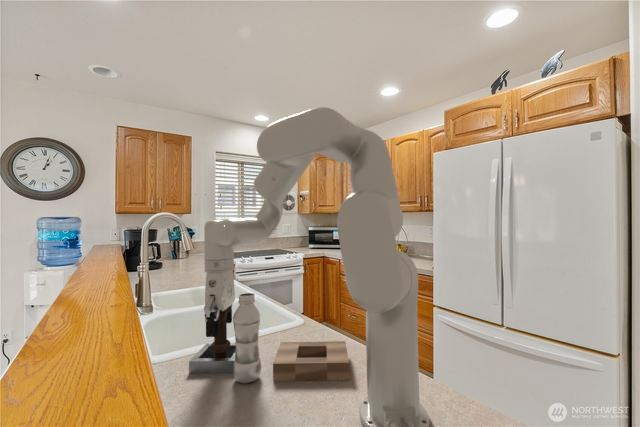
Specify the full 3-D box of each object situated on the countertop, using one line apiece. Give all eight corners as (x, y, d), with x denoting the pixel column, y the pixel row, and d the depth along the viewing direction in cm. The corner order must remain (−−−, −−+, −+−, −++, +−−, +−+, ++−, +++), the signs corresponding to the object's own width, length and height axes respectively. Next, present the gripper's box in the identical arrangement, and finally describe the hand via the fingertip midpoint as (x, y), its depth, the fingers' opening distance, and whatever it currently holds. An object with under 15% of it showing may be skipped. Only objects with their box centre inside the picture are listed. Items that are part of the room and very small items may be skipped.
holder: (234, 373, 69) (234, 360, 69) (189, 373, 69) (189, 361, 70) (246, 353, 80) (246, 342, 80) (206, 354, 80) (206, 343, 80)
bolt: (222, 369, 71) (222, 310, 72) (205, 367, 73) (205, 309, 73) (234, 358, 77) (234, 303, 78) (218, 356, 78) (218, 302, 79)
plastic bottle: (243, 391, 62) (242, 300, 63) (227, 379, 66) (227, 295, 67) (267, 378, 67) (266, 294, 67) (251, 369, 71) (250, 290, 72)
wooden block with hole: (349, 380, 65) (349, 362, 66) (273, 381, 66) (273, 363, 66) (345, 355, 77) (345, 341, 77) (280, 356, 78) (280, 342, 78)
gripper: (221, 270, 67) (222, 342, 66) (242, 260, 84) (242, 318, 84) (190, 270, 67) (190, 343, 66) (217, 261, 84) (218, 318, 84)
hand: (219, 329), depth 75 cm, fingers open, 9 cm apart
